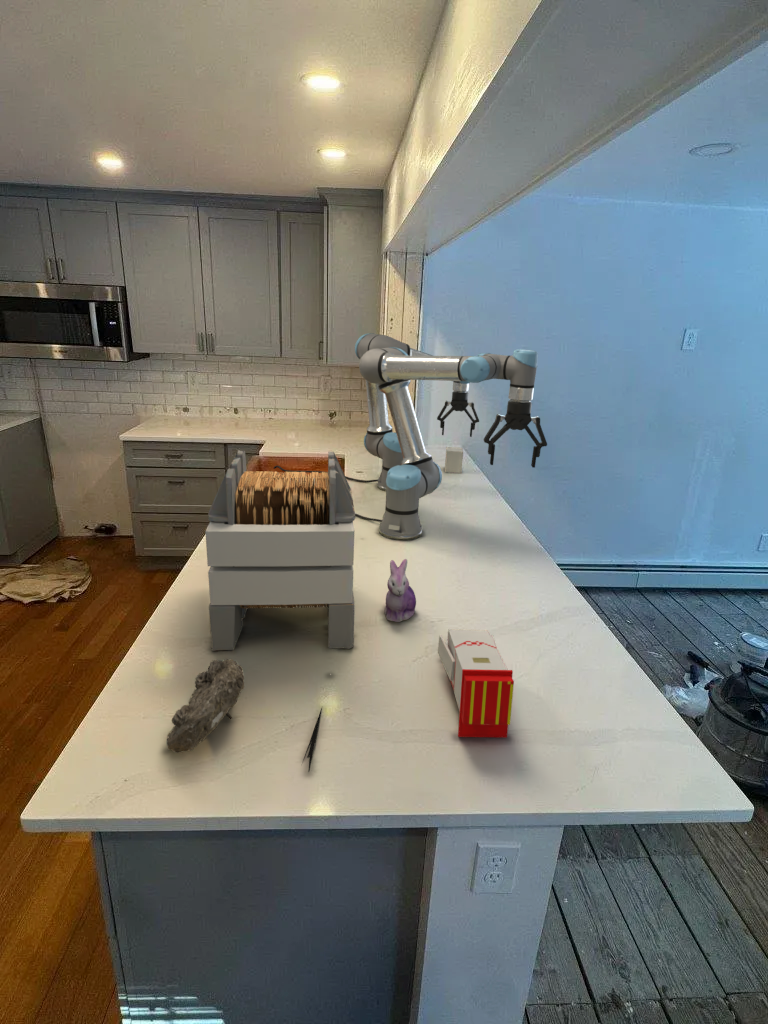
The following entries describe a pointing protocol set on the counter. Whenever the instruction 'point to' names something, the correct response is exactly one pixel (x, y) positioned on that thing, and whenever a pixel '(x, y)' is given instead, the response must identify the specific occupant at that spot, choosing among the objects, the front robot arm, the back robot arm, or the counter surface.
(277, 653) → the counter surface
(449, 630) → the toy
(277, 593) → the record crate
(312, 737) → the feather
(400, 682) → the counter surface
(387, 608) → the figurine
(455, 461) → the brick
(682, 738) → the counter surface
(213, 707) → the fossil
